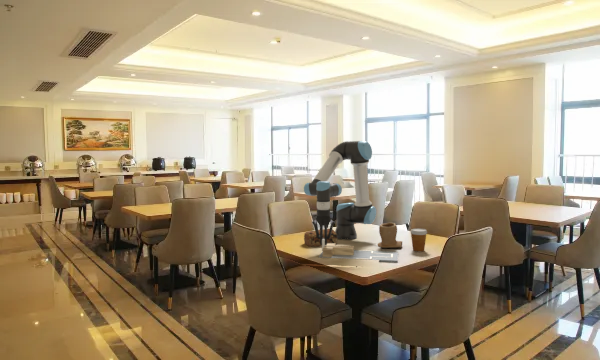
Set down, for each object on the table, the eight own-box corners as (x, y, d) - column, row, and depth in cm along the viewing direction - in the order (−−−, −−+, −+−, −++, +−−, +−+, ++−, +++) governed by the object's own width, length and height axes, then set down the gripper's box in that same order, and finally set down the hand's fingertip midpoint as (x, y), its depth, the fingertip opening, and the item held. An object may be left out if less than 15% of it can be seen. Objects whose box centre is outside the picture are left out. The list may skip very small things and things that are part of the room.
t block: (327, 249, 251) (327, 243, 251) (354, 250, 247) (354, 244, 247) (322, 256, 235) (322, 249, 235) (352, 257, 232) (352, 250, 232)
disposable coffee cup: (407, 248, 256) (407, 228, 255) (423, 248, 257) (423, 228, 256) (413, 252, 246) (413, 231, 246) (429, 251, 247) (429, 231, 246)
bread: (331, 242, 275) (331, 227, 275) (337, 246, 265) (337, 230, 264) (303, 245, 269) (303, 229, 269) (309, 248, 259) (309, 232, 259)
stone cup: (378, 250, 254) (378, 224, 253) (376, 245, 265) (376, 221, 264) (404, 250, 252) (405, 224, 251) (402, 245, 264) (402, 221, 263)
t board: (324, 250, 253) (324, 248, 253) (397, 253, 244) (397, 251, 244) (318, 259, 234) (318, 257, 234) (397, 262, 225) (397, 260, 225)
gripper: (310, 209, 239) (311, 251, 241) (334, 210, 236) (334, 252, 238) (313, 207, 247) (313, 248, 248) (335, 208, 244) (336, 249, 245)
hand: (323, 250), depth 243 cm, fingers closed
